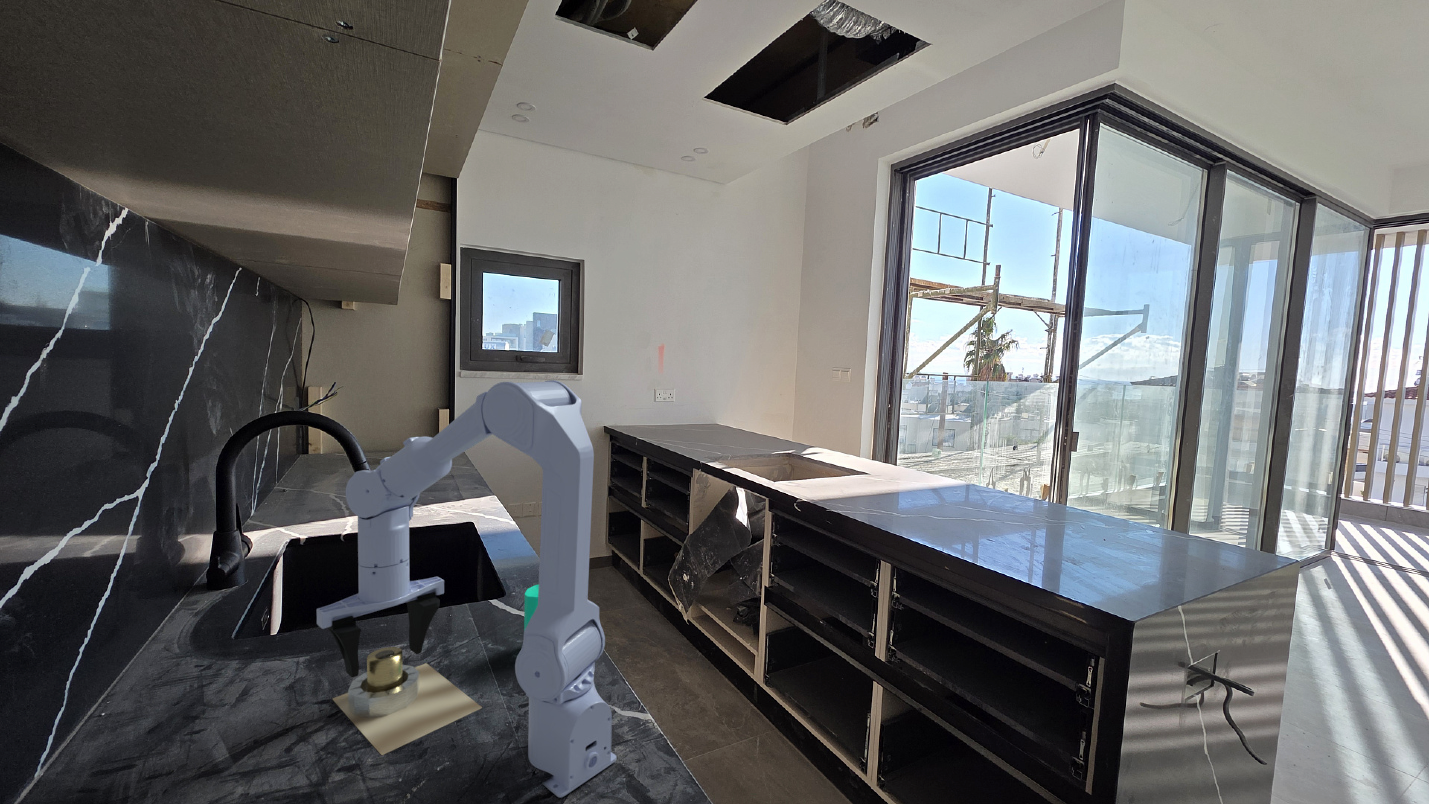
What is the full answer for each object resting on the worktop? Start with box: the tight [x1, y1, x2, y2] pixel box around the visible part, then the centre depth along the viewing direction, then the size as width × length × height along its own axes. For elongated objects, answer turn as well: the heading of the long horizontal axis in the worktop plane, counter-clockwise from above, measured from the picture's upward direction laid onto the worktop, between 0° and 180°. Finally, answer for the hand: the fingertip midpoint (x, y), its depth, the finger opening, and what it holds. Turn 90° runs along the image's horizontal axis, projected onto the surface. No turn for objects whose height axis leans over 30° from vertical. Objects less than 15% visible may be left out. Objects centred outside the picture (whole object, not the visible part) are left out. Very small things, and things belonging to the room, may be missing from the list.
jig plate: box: [332, 662, 483, 756], centre depth 74 cm, size 16×12×1 cm
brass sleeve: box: [366, 646, 403, 693], centre depth 74 cm, size 4×4×6 cm
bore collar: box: [347, 664, 419, 718], centre depth 74 cm, size 8×8×2 cm
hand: (385, 662), depth 74 cm, fingers open, 7 cm apart
